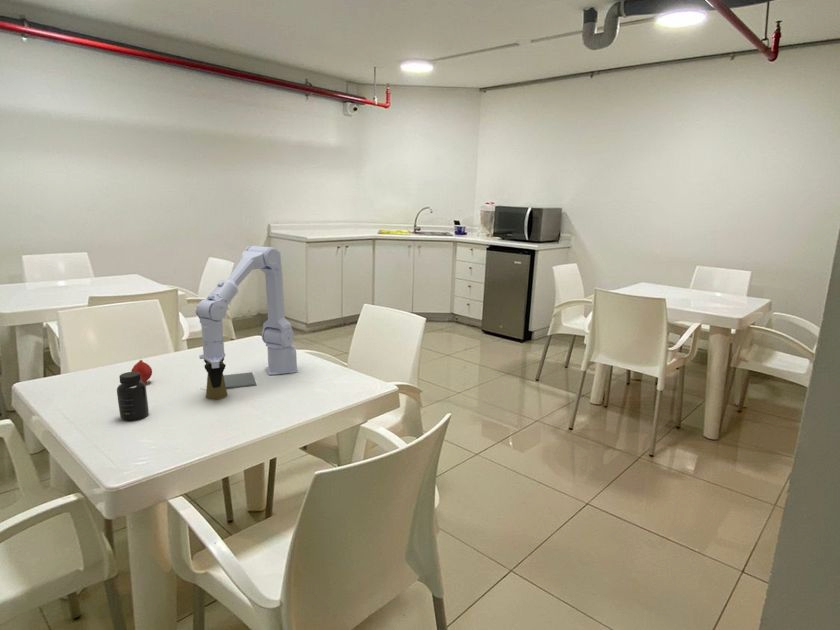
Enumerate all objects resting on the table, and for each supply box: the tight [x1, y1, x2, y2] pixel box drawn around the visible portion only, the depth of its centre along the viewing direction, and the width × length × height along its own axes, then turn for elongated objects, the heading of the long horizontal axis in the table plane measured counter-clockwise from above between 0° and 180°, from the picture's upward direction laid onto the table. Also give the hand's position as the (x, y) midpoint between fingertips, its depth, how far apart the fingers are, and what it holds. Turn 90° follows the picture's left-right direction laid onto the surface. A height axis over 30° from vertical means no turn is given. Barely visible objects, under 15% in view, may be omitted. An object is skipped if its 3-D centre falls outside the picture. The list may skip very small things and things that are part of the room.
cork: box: [205, 360, 228, 401], centre depth 151 cm, size 6×6×11 cm
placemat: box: [223, 371, 257, 390], centre depth 165 cm, size 12×12×1 cm
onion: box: [130, 359, 153, 384], centre depth 160 cm, size 6×6×8 cm
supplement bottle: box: [116, 371, 150, 422], centre depth 136 cm, size 7×7×12 cm
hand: (216, 384), depth 152 cm, fingers closed on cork, 5 cm apart
